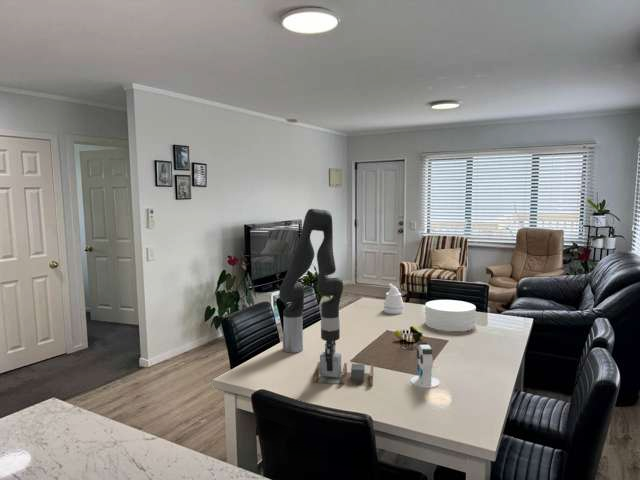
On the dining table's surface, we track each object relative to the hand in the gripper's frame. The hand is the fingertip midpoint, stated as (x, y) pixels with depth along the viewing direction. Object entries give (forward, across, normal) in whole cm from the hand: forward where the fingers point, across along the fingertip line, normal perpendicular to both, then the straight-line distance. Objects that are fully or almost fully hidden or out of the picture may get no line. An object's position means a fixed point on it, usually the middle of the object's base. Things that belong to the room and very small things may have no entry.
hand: (330, 367), depth 175 cm
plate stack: (+5, -86, +59) cm, 105 cm away
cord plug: (+4, -2, +11) cm, 12 cm away
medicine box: (+3, 0, 0) cm, 3 cm away
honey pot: (+5, -113, +28) cm, 116 cm away
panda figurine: (+5, -3, +38) cm, 38 cm away
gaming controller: (+5, -55, +35) cm, 66 cm away
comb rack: (+5, 0, +6) cm, 7 cm away
